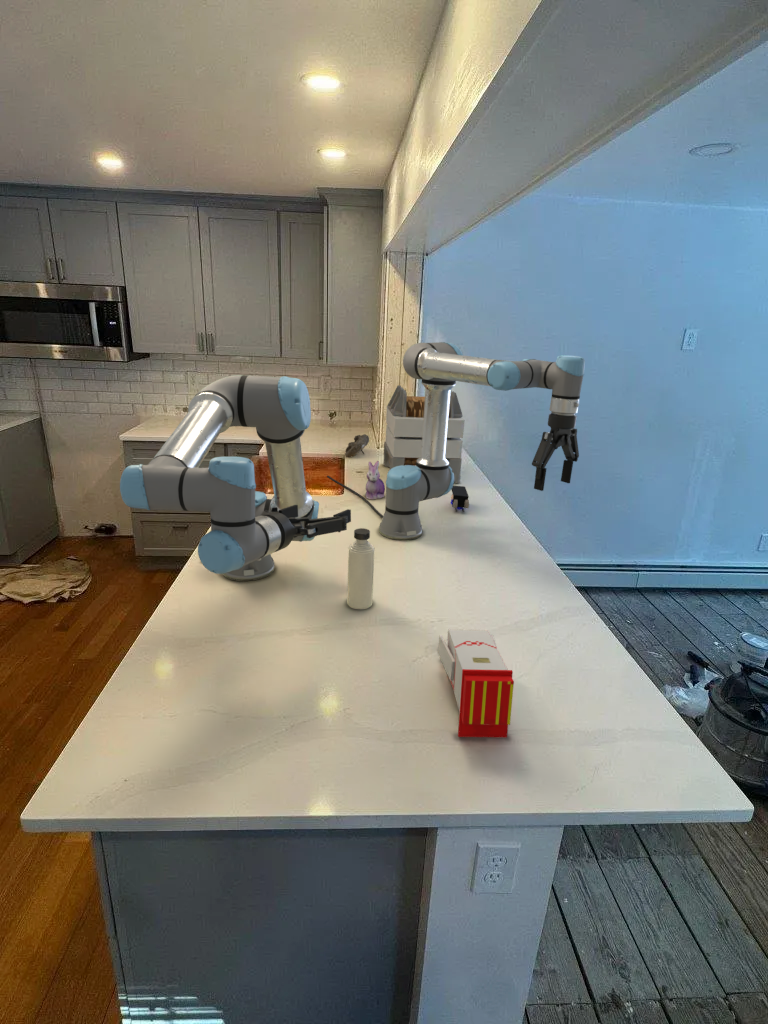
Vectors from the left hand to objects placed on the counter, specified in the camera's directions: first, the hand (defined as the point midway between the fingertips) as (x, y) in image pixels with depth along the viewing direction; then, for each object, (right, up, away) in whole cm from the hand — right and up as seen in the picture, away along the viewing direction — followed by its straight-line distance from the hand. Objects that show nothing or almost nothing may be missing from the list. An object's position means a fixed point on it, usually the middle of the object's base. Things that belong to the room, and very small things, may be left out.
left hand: (322, 512), depth 127 cm
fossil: (-1, +32, +179) cm, 182 cm away
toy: (+32, -37, -9) cm, 50 cm away
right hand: (+63, +8, +38) cm, 74 cm away
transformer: (+31, +19, +148) cm, 152 cm away
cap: (+8, -5, +18) cm, 20 cm away
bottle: (+7, -24, +25) cm, 36 cm away
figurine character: (+44, +2, +101) cm, 111 cm away
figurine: (+10, +7, +111) cm, 111 cm away
